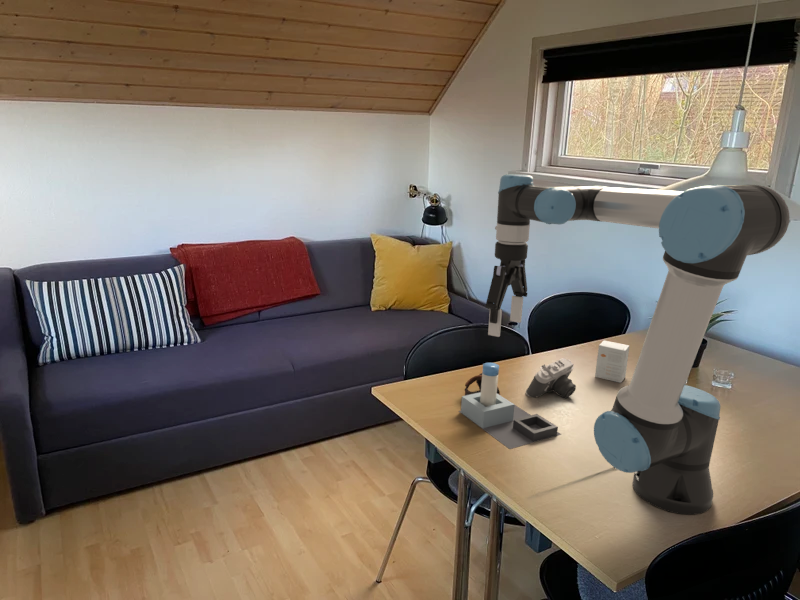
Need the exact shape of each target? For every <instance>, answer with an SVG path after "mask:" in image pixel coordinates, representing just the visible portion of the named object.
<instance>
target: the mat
mask: <svg viewBox="0 0 800 600" xmlns="http://www.w3.org/2000/svg"><path fill="white" fill-rule="evenodd" d="M458 413H460V414H462V416H464V417H466V418H467V419H468V420H469V421H471V422H472V423H474V425H476V426H477V427H479V428H480V429H482V430H483V431H484V432H486V433H487V434H488V435H489V436H491V437H493V438H494V439H495V440H497V442H499V443H500V444H502V445H503V446H505V447H506V448H507V449H509V450H512V449H515V448H519V447H523V446H526V445H529V444H534V443H537V442H540V441H543V440H547V439H551V438H554V437H558V436H561V435H562V433H560V432H559V431H557V435H555V436H552V437H548V438H545V439H541V440H538V441H534V442H533V441H531V440H530V439H528V438H527V437H526V436H524V435H523V434H521V433H520V432H518V431H517V430H515V429H514V428H513V422H514V420H515V419H519V418H523V417H526V416H530V415H531V414H530V413H528V412H527V411H525V410H524V409H522V408H520V407H519V406H518V405H516V404H515V405H514V416H513V421H509V422H505V423H502V424H498V425H494V426H490V427H486V428H482V427H480V426H479V425H478V424H476V423H475V422H473V421H472V420H471V419H469V418H468V417H467V416H465V415H464V414H463V413H461V410H458ZM528 427H530V428H531V429H533V430H534V431H535V430H539V429H542V428H541V427H539V426H538V425H536V424H535V425H531V426H528Z"/></svg>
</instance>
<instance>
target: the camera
mask: <svg viewBox="0 0 800 600" xmlns="http://www.w3.org/2000/svg"><path fill="white" fill-rule="evenodd" d="M574 368H575V366H574V363H573V362H572V360H571V359H569V358H568V359H566V357H562V358H559V359H558V360H556V361H553V362H551V363H548V364H547V365H546V364H543V365H541V366H539V370H538V371H537V372H536V373H535V374H534V376H533V378H532V380H531V382H530V384H529V385H528V387H527V389H526V390H525V395H526V396H527V397H530V398H538V397H540V396H542V395H545V394H548V393H549V392H555V393H556V395H557V396H561V398H562V399H569V398H570V397H571V396H572V395H573V394H574V393H575V391H576V390H577V389H576V387H577V386H576V384H574V383H573V381H572V379H571V378H569V376H570V375H571V373H572V372H573V370H574Z"/></svg>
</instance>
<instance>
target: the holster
mask: <svg viewBox="0 0 800 600" xmlns="http://www.w3.org/2000/svg"><path fill="white" fill-rule="evenodd" d="M535 424H536V425H538V426H539V427H541V428H542V429H539V430H535V431H534V430H533V429H531V428H530V427H528V426H531V425H535ZM513 428H514V429H515V430H517V431H518V432H520V433H521V434H523V435H524V436H526V437H527V438H528V439H530V440H531V441H533V442H534V441H537V442H539V441H538V440H541V439H544V440H546V439H545V438H548V437H551V438H553V437H552V436H555V435H557V432H559V430H558V429H559V426H557V425H556V424H554V423H553V422H551V421H550V420H547V418H545V417H544V416H541V415H540V414H538V413H535V414H530V416H526V417H523V418H519V419H515V420H514V422H513ZM555 437H556V436H555ZM548 439H549V438H548ZM541 441H542V440H541ZM534 443H535V442H534Z"/></svg>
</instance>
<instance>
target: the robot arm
mask: <svg viewBox="0 0 800 600" xmlns="http://www.w3.org/2000/svg"><path fill="white" fill-rule="evenodd" d="M497 193H498V196H497V197H498V200H497V216H496V217H497V218H496V225H495V226H494V229H495V231H496V234H495V239H496V240H497V241H496V242H495V245H494V258H496V259H498V260H500V263H499V265H494V267H493V273H492V274H493V275H492V278H491V282H490V285H489V290H488V294H487V297H486V298H487V299H486V302H485V309H489V316H488V317H489V318H488V330H487V331H488V332H487V335H488V336H492V337H497V338H499V337H500V336H501V330H502V329H501V327H502V314H503V313H502V312H503V309H501V307H502V304H503V301H504V299H505V296H506V294H507V290H508V287H509V286H511V290H512V293H513V295H511V304H510V306H511V307H510V317H509V321H510V322H513V323H519V324H520V323H522V316H523V303H524V298H526V297H528V283H527V274H526V259H527V258H528V250H529V249H528V247H529V245H528V243H527V242H529V240H530V238H529V237H530V225H531V224H530V223H531V221H535V222H541V223H544V224H547V225H564V224H566V223H567V222H570V221H571V222H572V221H593V222H603V223H604V222H605V223H612V224H620V225H627V226H628V225H629V226H634V227H635V226H637V227H642V228H643V227H644V228H652V229H658V236H659V237H660V239H661V242H660V244H661V247H662V248H663V250H664V252H663V255H662V261H663V263H664V264H665V266H666V267H667V269H668V270H667V271H668V272H667V273H666V276H665V280H664V283H663V286H662V289H661V292H660V295H659V298H658V300H657V303H656V307H655V310H654V313H653V315H652V318H651V320H650V324H649V328H648V330H647V333H646V336H645V338H644V341H643V345H642V348H641V350H640V353H639V357H638V360H637V362H636V365H635V368H634V372H633V374H632V378H631V381H630V383H629V384H628V385H626V386H623V387H621V388H620V389H619V390H618V392H617V394H616V396H615V400H614V403H613V405H612V408H611V410H606V411H603V412H602V413H601V414H600V415H598V417H597V418H596V419H595V422H594V425H593V436H594V441H595V444H596V445H597V447H598V451H599V453H600V454H601V456H602V457H603V458H604V460H605V461H606V462H607V463H609V465H610V466H612V467H613V468H615V469H616V470H618V471H620V472H623V473H631V474H633V477H632V478H633V479H632V487H633V489H634V491H635V492H636V494H637V495H638V496H639V497H641V498H642V499H643V500H644V502H647V503H649V504H650V505H652V506H654V507H656V508H659V509H661V510H664V511H665V512H666V511H668V512H671V513H675V514H678V515H679V514H681V515H698V514H703V513H705V512H707V511H708V510H709V509H710V508H711V507H712V504H713V499H714V490H713V485H712V479H711V478H712V477H711V472H710V464H711V459H712V454H713V450H714V444H715V440H716V435H717V429H718V425H719V421H720V420H721V417H720V413H721V403H720V401H719V399H717V397H715V396H714V395H713V394H711V393H708V392H707V391H705V390H703V389H699V388H697V387H694V386H691V385H686V382H687V381H688V378H689V375H690V373H691V370H692V368H693V365H694V362H695V360H696V358H697V354H698V351H699V349H700V348H701V347H700V346H701V345H702V342H703V339H704V336H705V334H706V331H707V328H708V326H709V324H710V320H711V319H712V316H713V313H714V311H715V309H716V305H717V304H718V301H719V298H720V295H721V293H722V291H723V287H724V286H725V285H726V284H729V283H731V282H734V281H736V280H737V279H738V278H739V276H740V274H741V271H742V268H743V266H744V264H745V260H746V258H747V256H751V255H752V256H753V255H758V254H761V253H763V252H766V251H768V250H770V249H771V248H773V247H775V246H776V245H777V244H778V243H779V242H780V241H781V240H782V239H783V237H784V236H785V234H786V233H787V231H788V228H789V224H790V219H791V217H790V211H789V207H788V205H787V203H786V200H785V199H784V197H782V196H781V194H779V193H778V192H777V191H775V190H774V189H772V188H770V187H767V186H764V185H760V184H731V185H728V184H727V185H725V184H724V185H723V184H722V185H721V184H707V185H702V186H696V187H692V188H689V189H686V190H684V191H682V190H681V191H679V190H661V189H647V188H628V187H610V186H606V185H605V186H604V185H586V186H585V185H584V186H543V185H542V186H541V185H534V176H532V175H530V174H515V173H514V174H512V173H509V174H503V175H502V176H501V177H500V181H499V189H498V192H497Z"/></svg>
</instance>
